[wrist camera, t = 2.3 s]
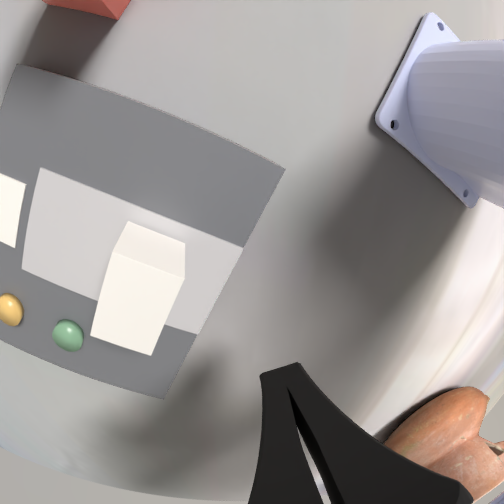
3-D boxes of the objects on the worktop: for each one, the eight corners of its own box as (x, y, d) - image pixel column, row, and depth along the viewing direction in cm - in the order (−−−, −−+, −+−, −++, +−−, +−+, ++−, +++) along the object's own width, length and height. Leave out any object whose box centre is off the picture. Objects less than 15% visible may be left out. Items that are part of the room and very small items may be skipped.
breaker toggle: (185, 243, 12) (184, 278, 9) (155, 313, 13) (151, 355, 11) (128, 220, 11) (112, 251, 9) (104, 294, 12) (90, 335, 10)
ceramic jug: (483, 345, 25) (556, 433, 12) (471, 401, 31) (518, 468, 18) (340, 437, 26) (388, 553, 13) (363, 468, 32) (397, 547, 20)
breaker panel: (275, 163, 13) (290, 172, 11) (164, 380, 17) (163, 407, 15) (33, 66, 9) (9, 62, 7) (-11, 313, 13) (-25, 334, 11)
